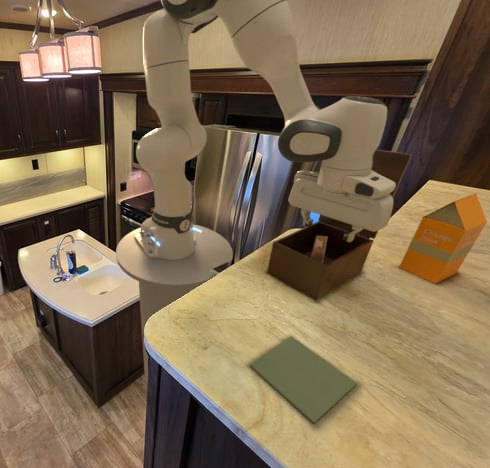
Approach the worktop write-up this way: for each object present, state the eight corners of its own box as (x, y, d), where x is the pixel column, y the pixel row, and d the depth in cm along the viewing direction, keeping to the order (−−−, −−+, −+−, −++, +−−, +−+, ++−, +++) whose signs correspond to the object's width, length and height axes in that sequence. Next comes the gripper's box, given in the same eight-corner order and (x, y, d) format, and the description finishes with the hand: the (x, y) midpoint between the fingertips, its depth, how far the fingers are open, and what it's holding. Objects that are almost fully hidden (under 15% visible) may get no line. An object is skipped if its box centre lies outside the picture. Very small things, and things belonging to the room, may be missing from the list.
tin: (317, 288, 69) (327, 259, 65) (302, 284, 71) (311, 256, 67) (323, 258, 80) (331, 231, 76) (310, 255, 81) (317, 228, 77)
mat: (249, 365, 54) (249, 364, 53) (290, 337, 58) (291, 336, 58) (313, 424, 44) (314, 422, 44) (356, 385, 49) (357, 383, 49)
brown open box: (316, 300, 67) (327, 267, 62) (266, 272, 77) (273, 241, 72) (361, 272, 74) (373, 240, 70) (310, 250, 85) (318, 220, 80)
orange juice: (457, 273, 71) (502, 198, 62) (435, 283, 69) (479, 207, 59) (418, 257, 78) (454, 187, 68) (397, 267, 75) (431, 195, 65)
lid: (410, 154, 60) (420, 152, 63) (343, 145, 71) (353, 143, 73) (373, 239, 69) (383, 234, 71) (318, 219, 80) (328, 216, 82)
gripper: (288, 170, 70) (278, 221, 77) (390, 193, 54) (366, 255, 61) (304, 165, 72) (293, 215, 79) (406, 185, 56) (382, 245, 63)
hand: (326, 232), depth 70 cm, fingers open, 8 cm apart
